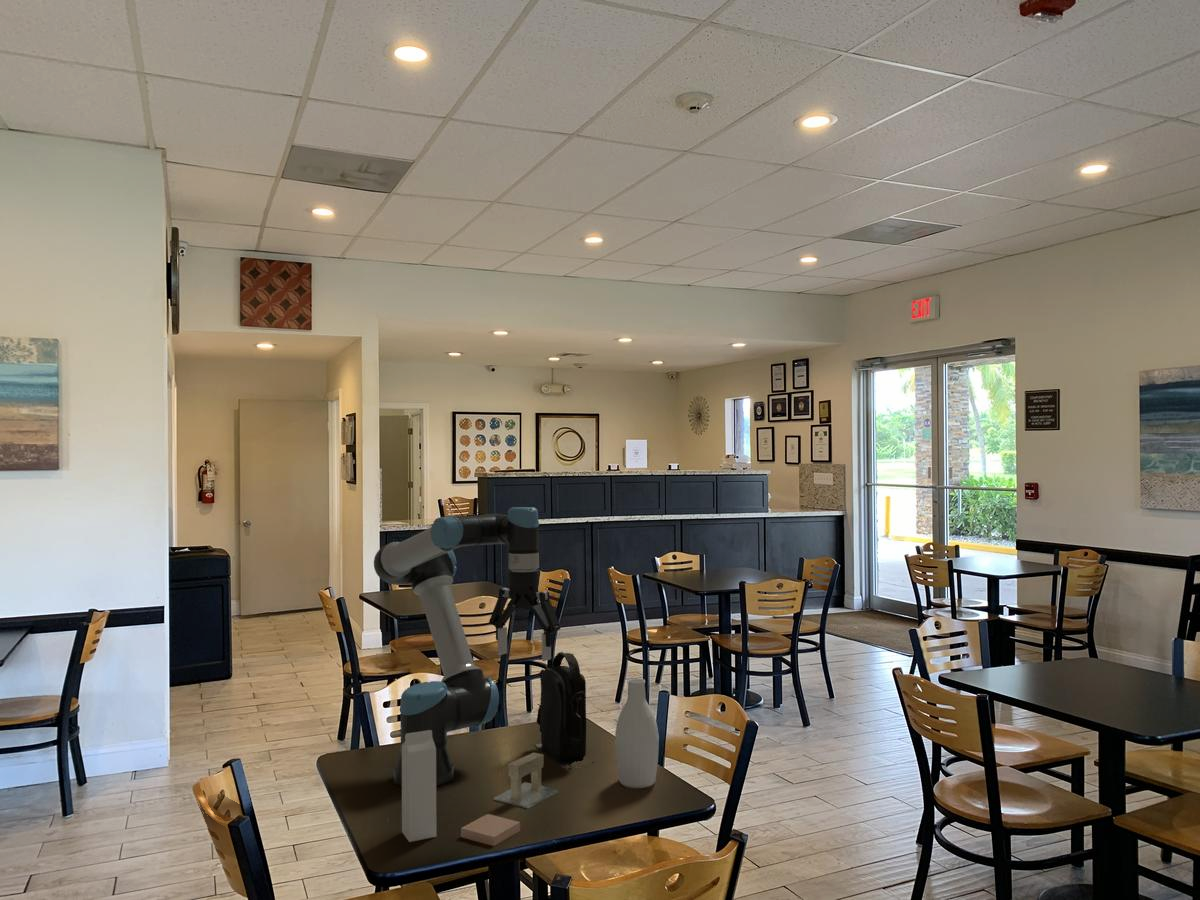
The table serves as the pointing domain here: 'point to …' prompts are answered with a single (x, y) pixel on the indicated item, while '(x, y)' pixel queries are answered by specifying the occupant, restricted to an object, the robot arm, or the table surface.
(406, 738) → the milk
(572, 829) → the table surface
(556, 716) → the shoulder bag
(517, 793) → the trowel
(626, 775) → the bottle
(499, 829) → the tile
